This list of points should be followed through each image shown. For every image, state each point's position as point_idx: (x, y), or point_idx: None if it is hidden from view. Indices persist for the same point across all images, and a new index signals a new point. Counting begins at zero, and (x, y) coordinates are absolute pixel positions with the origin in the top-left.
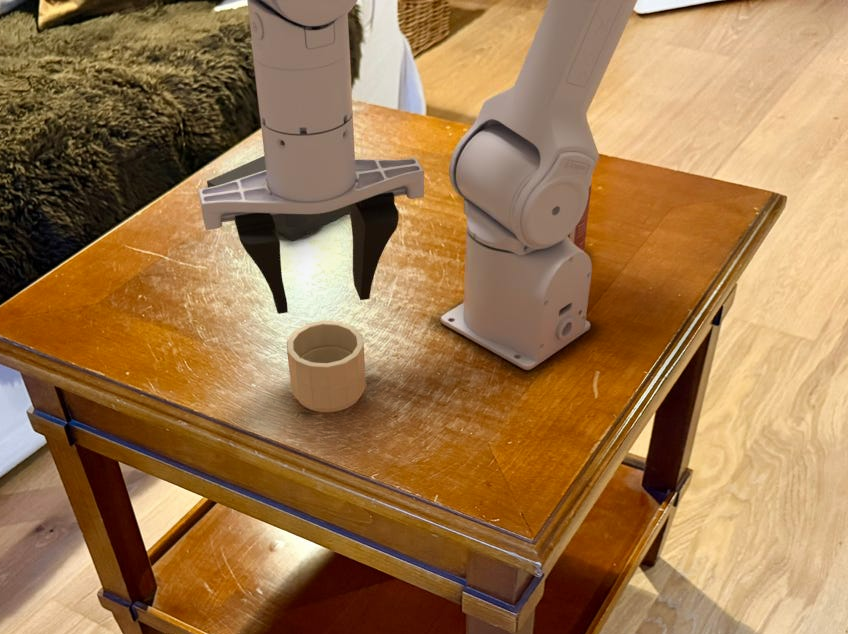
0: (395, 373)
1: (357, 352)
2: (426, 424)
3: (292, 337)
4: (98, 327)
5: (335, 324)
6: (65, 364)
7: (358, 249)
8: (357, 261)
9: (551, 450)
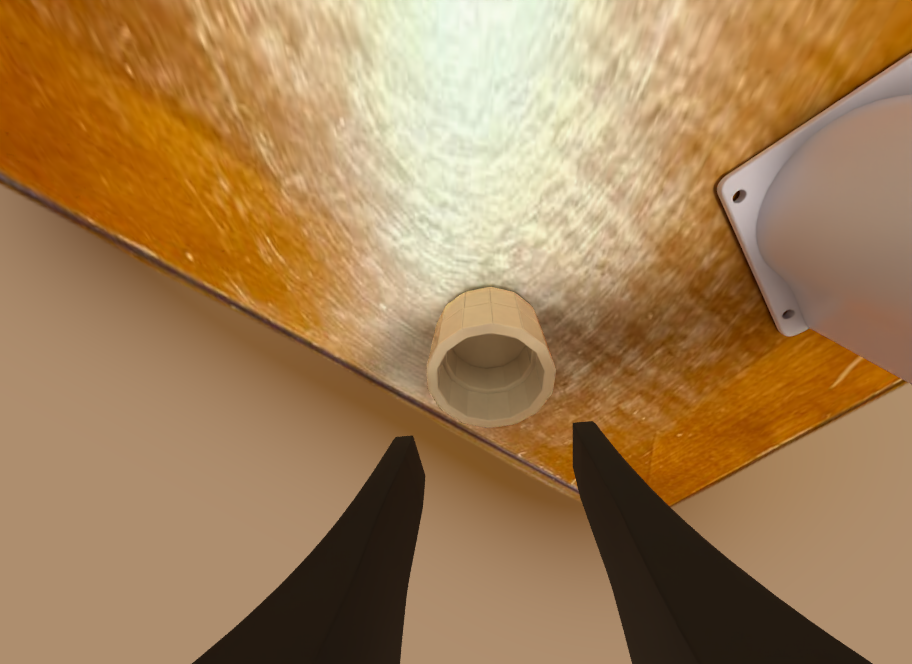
0: (588, 307)
1: (539, 406)
2: (597, 400)
3: (435, 360)
4: (63, 108)
5: (514, 337)
6: (79, 221)
7: (619, 569)
8: (602, 519)
9: (717, 449)
